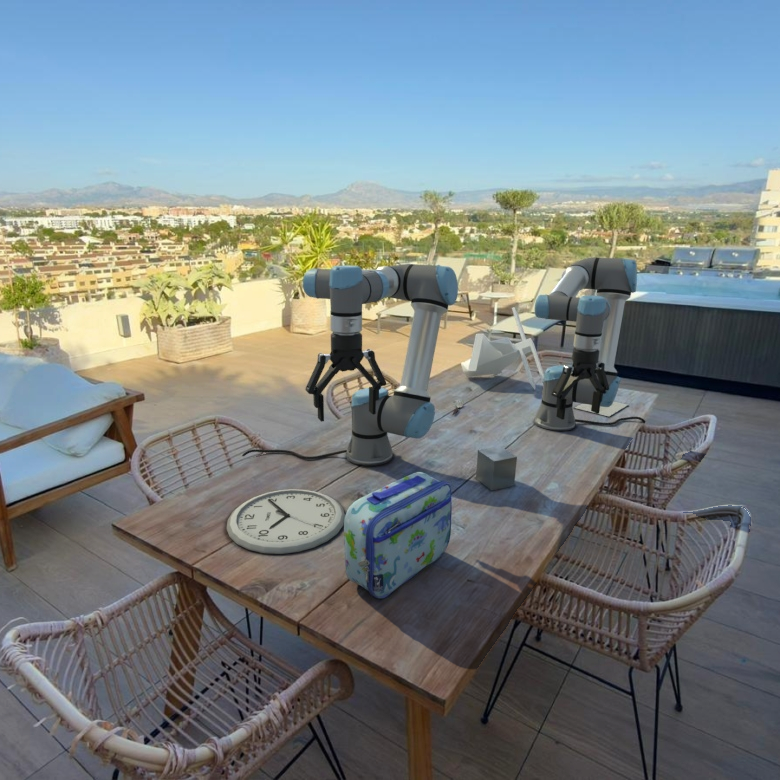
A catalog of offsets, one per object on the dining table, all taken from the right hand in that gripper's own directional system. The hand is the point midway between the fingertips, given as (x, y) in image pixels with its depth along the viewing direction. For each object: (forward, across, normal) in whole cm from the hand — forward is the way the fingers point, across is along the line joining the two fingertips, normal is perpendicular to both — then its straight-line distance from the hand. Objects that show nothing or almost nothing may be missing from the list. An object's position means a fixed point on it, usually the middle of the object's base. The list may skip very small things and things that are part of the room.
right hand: (577, 415), depth 163 cm
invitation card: (+20, +54, +43) cm, 72 cm away
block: (+18, -29, 0) cm, 34 cm away
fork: (+19, -8, +61) cm, 64 cm away
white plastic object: (+20, +31, +88) cm, 95 cm away
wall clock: (+16, -92, +1) cm, 93 cm away
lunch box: (+16, -73, -29) cm, 80 cm away
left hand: (-11, -75, -1) cm, 76 cm away
